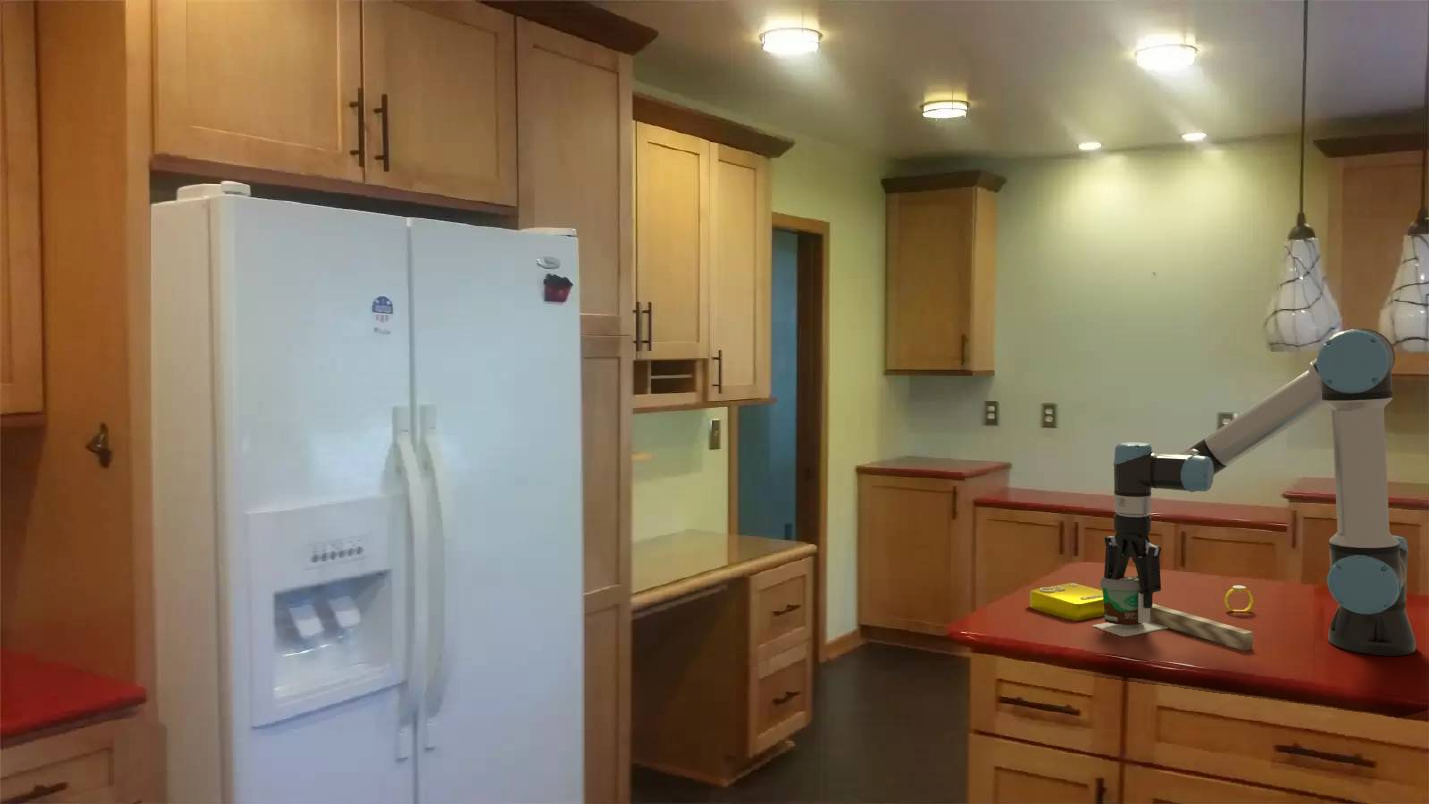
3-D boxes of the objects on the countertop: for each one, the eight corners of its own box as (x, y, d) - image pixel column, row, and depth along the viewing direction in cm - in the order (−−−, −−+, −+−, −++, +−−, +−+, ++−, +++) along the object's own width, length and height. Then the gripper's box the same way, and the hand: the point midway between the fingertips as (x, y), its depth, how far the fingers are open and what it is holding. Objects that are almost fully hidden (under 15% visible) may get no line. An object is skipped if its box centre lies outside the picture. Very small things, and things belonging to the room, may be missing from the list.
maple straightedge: (1252, 648, 217) (1252, 631, 216) (1242, 650, 215) (1242, 634, 215) (1136, 614, 244) (1136, 599, 243) (1126, 615, 242) (1126, 600, 242)
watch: (1228, 614, 243) (1226, 589, 242) (1223, 611, 246) (1222, 586, 245) (1255, 613, 242) (1254, 587, 242) (1251, 609, 245) (1249, 584, 245)
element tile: (1074, 623, 239) (1074, 602, 239) (1026, 608, 252) (1026, 588, 252) (1121, 613, 246) (1121, 593, 246) (1071, 599, 259) (1072, 580, 259)
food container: (1121, 629, 227) (1121, 583, 227) (1099, 622, 233) (1099, 577, 232) (1163, 622, 232) (1164, 577, 232) (1142, 615, 238) (1142, 571, 237)
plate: (1167, 628, 232) (1167, 627, 232) (1123, 637, 226) (1123, 635, 226) (1135, 618, 240) (1135, 617, 240) (1092, 626, 235) (1092, 625, 235)
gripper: (1086, 509, 238) (1085, 610, 240) (1155, 522, 221) (1154, 631, 222) (1111, 505, 241) (1110, 606, 243) (1181, 518, 224) (1180, 626, 226)
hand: (1131, 618), depth 233 cm, fingers closed on food container, 6 cm apart
